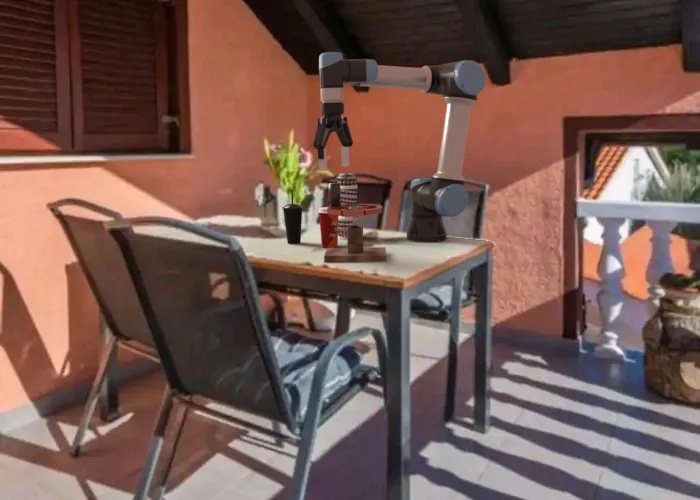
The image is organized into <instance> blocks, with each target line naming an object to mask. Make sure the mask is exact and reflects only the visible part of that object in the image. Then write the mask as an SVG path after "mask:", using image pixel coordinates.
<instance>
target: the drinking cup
mask: <svg viewBox="0 0 700 500" xmlns="http://www.w3.org/2000/svg"><path fill="white" fill-rule="evenodd" d="M290 194H291V197H290V198H291V199H290V200H291V201H290V202H291V203H288V204H286V205H283V206H282V207H281V208H282V210H283V217H284V226H285V233H286V241H287V244H289V245H298V244H301V242H302V241H301V239H302V237H301V236H302V223H303V222H302V220H303V209H304V206H303V205H300V204H298V203H294V189H290Z"/></svg>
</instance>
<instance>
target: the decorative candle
mask: <svg viewBox="0 0 700 500" xmlns="http://www.w3.org/2000/svg"><path fill="white" fill-rule="evenodd" d="M336 180H337V182H336V183H340V188H341V205H342V204H360V203H359V201H360V199H359V198H358V197H359V195H360V193H359V192H360V189H359V188H358V184H357V183H358V182H357V181H358V177H357V176H356V174H355V173H354V172H342V173H339V174H338V176H337V177H336ZM351 220H352V216H343V215H342V216H340V215H339V217H338V240H346V241H348V235H347V229H348V227H353V226H352V221H351ZM359 222H360V220H359V221H358V223H359ZM358 226H360V224H359V225H358Z"/></svg>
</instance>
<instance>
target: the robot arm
mask: <svg viewBox="0 0 700 500" xmlns="http://www.w3.org/2000/svg"><path fill="white" fill-rule="evenodd" d="M318 59H319V60H318V71H319V89H320V102H322V103H320V114H321V115H323V117H322V116H321V117H318V118H317V128H316V130H315V131H316V132H315V134H314V139H313V143H312V144H313V145H312V146H313V148H314V149H315V150H317V158H318V170H319V171H320V170H324V171H325V170H328V158H327V148H326V146H327V143H328V140H329V138H330V136H331V133H333V132H334V133H335V134H336V136H337V138H338V140H339V142H340V144H341V145H342V146H340V152H341V154H340V157H341V158H340V159H341V167H351V166H350V164H351V163H350V147H353V145H354V142H353V141H354V140H353V138H352V133H351V130H350V128H349V127H350V126H349V124H348V117H347V116H342V115H343V114H344V113H345V104H344V100H345V98H344V97H345V95H344V87H345V86H350V87H352V86H353V87H354V86H355V87H369V88H370V87H371V88H373V87H374V88H384V89H386V88H388V89H401V90H402V89H403V90H416V91H417V90H418V91H420V92H421V93H423V94H432V95H438V96H443V97H442V98H443V99H442V100H443V101H444V102H445V104H446V105H445V106H446V109H445V115H444V122H443V128H442V129H443V130H442V134H441V135H442V136H441V144H440V151H439V157H438V165H437V170H436V172H435V173H434V174H433V175H432V177H425V178H415V179H413V180H411V183H410V221H409V224H408V228H407V231H406V240H407V241H412V242H418V243H431V242H434V243H436V242H441V241H445V240H447V230H446V227H445V223H444V220H443V217H446V218H447V217H456V216H459V215H460V214H462V212H463V211H464V210H465V209H466V208H467V206H468V203H469V193H468V191H467V189H466V188H465V184H466V183H465V182H466V179H465V178H464V177H463V176H462V174H463V173H462V172H463V168H464V167H463V165H464V159H465V152H466V145H467V138H468V131H469V126H470V125H469V124H470V119H471V118H470V117H471V112H472V111H471V109H472V107H473V106H475V104H476V103H477V100H478V95H479V93H481V92H482V91H483V90H484V88H485V86H486V81H487V79H486V73H485V70H484V69H483V67H482V66H481V65H480V64H479V63H478V62H476V61H475V60H467V59H466V60H465V59H464V60H463V59H462V60H460V61H454V62H448V63H443V64H439V65H423V66H422V67H408V66H407V67H406V66H394V65H380V64H378V63H377V61H376V60H375V59H370V58H369V59H368V58H361V59H360V58H359V59H358V58H354V59H347V58H346V59H345V58H344V57H343V53H342V52H340V51H337V52H336V51H328V52H327V51H326V52H321V54H319V57H318Z"/></svg>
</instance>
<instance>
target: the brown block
mask: <svg viewBox="0 0 700 500" xmlns="http://www.w3.org/2000/svg"><path fill="white" fill-rule="evenodd" d="M347 235H348V240H347V247H334V248H325V253H324V257H323V262H324V263H351V262H352V263H355V262H356V263H363V262H364V263H365V262H367V263H368V262H370V263H371V262H387V249H386V247H385V246H379V247H376V246H375V247H364V227H363V226H360V225H359V226H358V228H353V227H348V229H347Z"/></svg>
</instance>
